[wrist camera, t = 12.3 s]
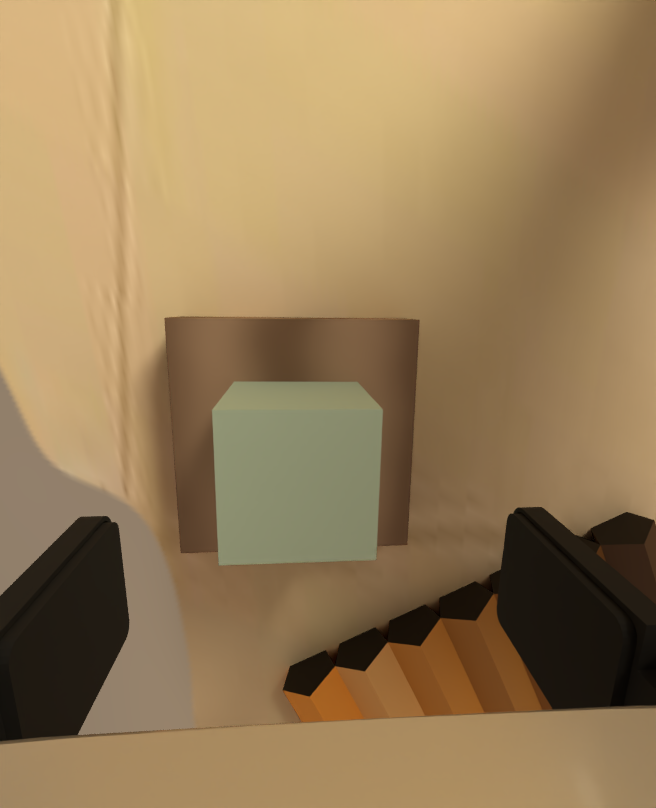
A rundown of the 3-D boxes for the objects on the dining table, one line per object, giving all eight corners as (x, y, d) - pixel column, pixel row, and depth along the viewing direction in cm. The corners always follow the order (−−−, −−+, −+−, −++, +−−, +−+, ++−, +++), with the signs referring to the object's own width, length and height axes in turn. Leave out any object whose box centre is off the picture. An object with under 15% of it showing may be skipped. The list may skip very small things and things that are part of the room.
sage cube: (357, 381, 21) (382, 409, 15) (354, 495, 23) (376, 560, 17) (234, 381, 21) (212, 410, 15) (237, 497, 22) (218, 565, 16)
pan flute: (708, 766, 34) (628, 505, 28) (753, 816, 31) (672, 531, 25) (420, 895, 34) (283, 663, 29) (435, 957, 31) (282, 709, 25)
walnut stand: (403, 318, 24) (419, 320, 21) (394, 518, 26) (407, 544, 23) (180, 316, 23) (164, 317, 20) (193, 524, 25) (180, 553, 22)
